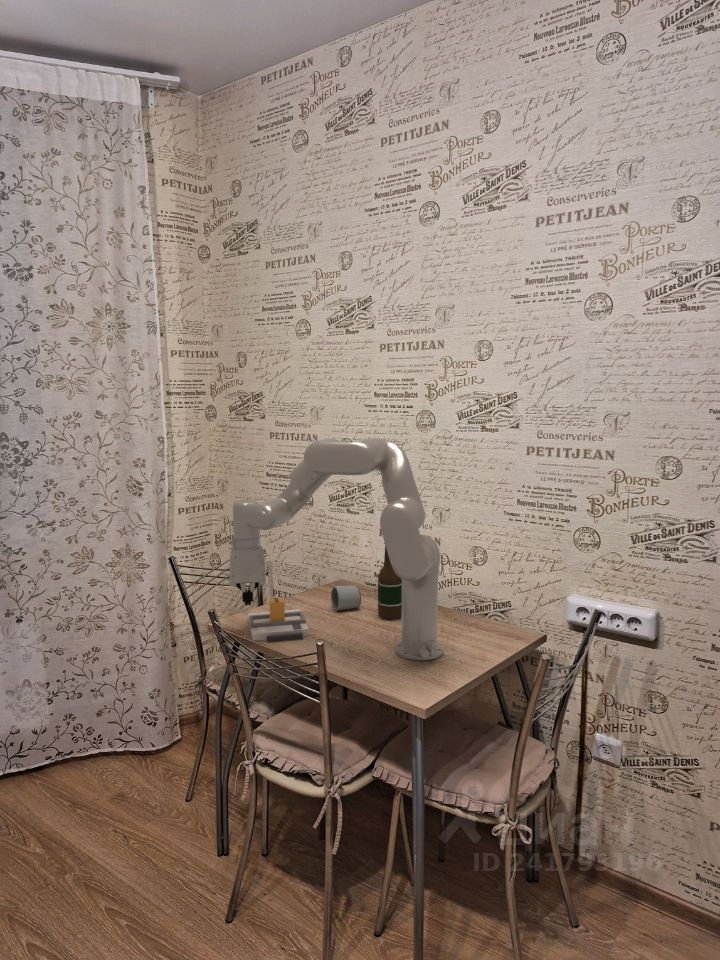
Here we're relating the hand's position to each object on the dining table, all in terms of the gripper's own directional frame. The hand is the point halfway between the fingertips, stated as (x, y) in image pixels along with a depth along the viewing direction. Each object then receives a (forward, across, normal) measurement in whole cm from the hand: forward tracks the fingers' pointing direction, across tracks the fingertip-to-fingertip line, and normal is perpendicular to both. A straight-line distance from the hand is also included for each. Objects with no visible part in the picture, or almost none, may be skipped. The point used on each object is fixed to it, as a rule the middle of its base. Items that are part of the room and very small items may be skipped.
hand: (247, 603), depth 199 cm
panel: (+8, +8, 0) cm, 11 cm away
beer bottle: (+7, +44, +1) cm, 44 cm away
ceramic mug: (+8, +31, +13) cm, 35 cm away
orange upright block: (+5, +8, 0) cm, 10 cm away
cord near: (+8, +10, -11) cm, 16 cm away
